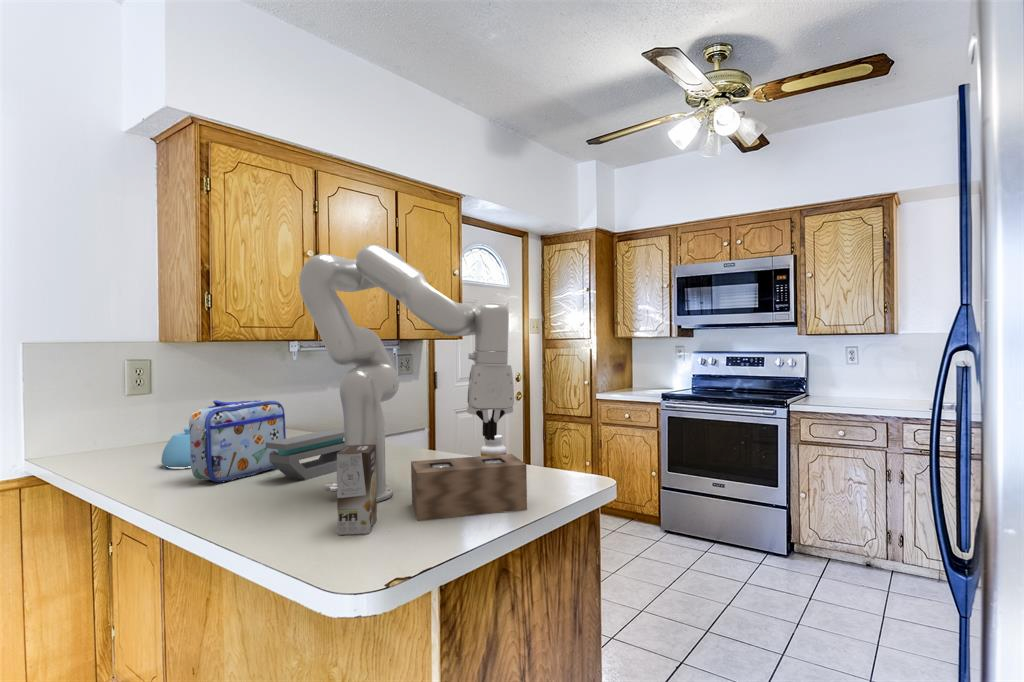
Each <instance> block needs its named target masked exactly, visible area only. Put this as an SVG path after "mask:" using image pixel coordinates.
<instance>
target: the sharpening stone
mask: <svg viewBox="0 0 1024 682" xmlns="http://www.w3.org/2000/svg"><path fill="white" fill-rule="evenodd" d="M266 448H269V449H278V452H276V453H271V454H269V460H270V463H271V464H273V465H274V466H275V468H276V469H277V470H279V472H281V473H282V474H283V475H284V477H286V478H290V477H291V478H292V479H298V480H304V481H305V480H306V481H308V480H311V479H314V478H319V477H321V476H325V475H328V474H332V473H335V472H336V473H337V453H338V452H339V451H340V450H342V449H343V448H344V428H343V429H342V428H332V429H331V428H330V429H327V430H322V431H316V432H311V433H306V434H302V435H301V434H300V435H296V436H290V437H286V439H280V440H275V441H270V442H266ZM318 456H319V457H318ZM314 457H318V458H317V459H313V460H309V461H306V462H301V463H300V461H301V460H306V459H310V458H314Z"/></svg>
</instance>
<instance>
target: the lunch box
mask: <svg viewBox="0 0 1024 682" xmlns="http://www.w3.org/2000/svg"><path fill="white" fill-rule="evenodd" d="M212 403H213V404H214V405H211V406H208V407H207V406H206V407H204V408H200V409H197V410H195V411H194V412H192V414H191V415H190V417H189V420H188V428H189V432H190V455H191V474H192V476H193V477H194V478H196V480H206V481H212V482H215V483H224V482H223V481H228V480H231V481H233V480H232V479H236V478H239V479H241V478H240V477H243V478H246V477H245V476H247V477H251V476H254V475H257V474H259V473H263V472H266V471H268V470H271V469H274V468H276V467H275V466H274V465H273V464H271V463H270V460H269V454H271V453H276V452H278V449H269V448H266V442H270V441H275V440H280V439H286V438H287V437H286V435H287V434H286V416H285V415H286V413H285V409H284V407H283V404H282V403H280V402H279V401H276V400H265V401H263V400H262V401H261V400H260V399H259V400H253V401H252V400H241V401H230V402H227V401H220V400H213V401H212ZM250 475H251V476H250ZM236 480H237V479H236ZM228 482H229V481H228Z"/></svg>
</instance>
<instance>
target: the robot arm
mask: <svg viewBox="0 0 1024 682" xmlns="http://www.w3.org/2000/svg"><path fill="white" fill-rule="evenodd" d="M298 287H299V293H300V297H301V299H302V301H303V303H304V305H305V307H306V309H307V311H308V313H309V315H310V316H311V319H312V321H313V322H314V325H315V328H316V330H317V331H318V335H319V337H320V338H321V341H322V343H323V345H324V348H325V349H326V352H327V354H328V356H329V357H330V359H331V361H333V363H335V364H337V365H340V366H355V367H354V368H352V369H350V370H348V371H346V373H345V374H344V375H343V376H342V378H341V380H340V382H339V383H340V384H339V397H340V401H341V402H340V403H341V407H342V413H343V415H342V416H343V429H344V438H343V441H344V447H346V446H348V445H374V444H375V445H376V495H377V503H379V502H382V501H385V500H387V499H389V498H391V497H392V495H393V489H392V488H391V487H388V486H387V485H386V483H387V482H386V480H387V479H386V478H387V477H386V476H387V475H386V474H387V473H386V426H385V416H384V411H383V409H382V404H381V403H383V402H386V401H389V400H391V399H392V398H393V397H395V395H396V394H397V392H398V390H399V386H400V379H399V375H398V372H397V371H396V368H395V365H394V364H393V361H392V360H391V358H390V356H389V354H388V351H387V349H386V347H385V345H384V344H383V341H382V339H381V338H380V337H379V335H378V334H377V333H376V332H375V331H373V330H372V329H370V328H367V327H363V326H362V327H360V326H357V325H356V324H355V322H354V321H353V318H352V316H351V314H350V312H349V309H348V308H347V305H346V304H345V303H344V301H343V300H342V299H341V298H340V297H339V296H338V294H337V291H338V292H345V293H355V292H360V291H366V290H369V289H374V288H380V289H381V290H382V291H384V292H385V293H387V294H388V295H390V296H391V297H393V298H395V299H396V300H398V301H399V302H400V303H402V305H403V306H404V307H405V308H406V309H407V310H409V311H410V313H411V314H413V315H414V316H415V317H417V318H418V319H419V320H420V321H422V322H424V323H425V324H427V325H428V326H430V327H431V328H433V329H434V330H436V331H437V332H439V333H440V334H443V335H445V336H447V337H448V336H450V337H468V336H474V350H473V352H471V353H468V357H467V358H468V360H472V361H473V364H471V367H470V371H469V377H468V385H467V386H468V387H467V407H466V412H467V413H468V414H470V415H473V416H478V418H479V420H481V421H482V436H483V437H484V436H485V439H486V440H494V439H495V436H496V435H498V422H499V421H500V419H502V418H503V416H504V415H509V414H512V413H513V412H514V405H515V389H514V376H513V368H512V365H511V364H508V361H509V359H508V358H509V357H508V351H509V349H508V347H509V309H508V307H507V306H506V305H503V304H481V305H480V304H479V305H478V306H477V305H473V304H466V303H461V302H456V301H454V300H452V299H450V298H449V297H447V296H446V295H444V294H443V293H441V292H440V291H439V290H437V289H435V288H434V287H433V286H431V285H430V284H429V283H428V282H427V280H426V276H425V275H424V273H422V271H420V270H418V269H417V268H415V267H414V266H412V265H410V264H409V263H407V262H406V261H404V259H403V257H402V256H401V255H400V253H398V252H397V251H395V250H393V249H390V248H388V247H387V248H386V247H385V246H382V245H378V244H369V245H366V246H362V248H360V250H358V252H357V254H356V256H355V258H353V259H350V258H346V257H343V256H338V255H335V254H331V253H319V254H316V255H314V256H312V257H310V258H309V259H308V260H307V261H306V262H305V264H304V265H303V267H302V269H301V271H300V274H299V282H298ZM489 410H491V416H490V419H489ZM325 492H330V493H337V482H325Z"/></svg>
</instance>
